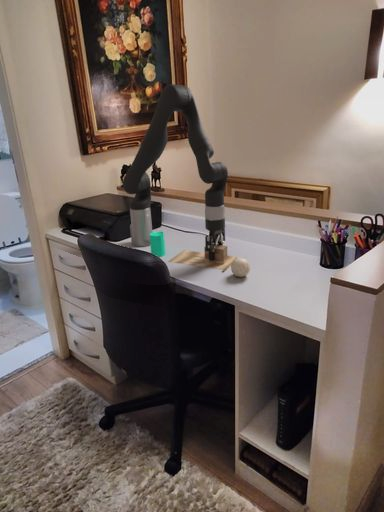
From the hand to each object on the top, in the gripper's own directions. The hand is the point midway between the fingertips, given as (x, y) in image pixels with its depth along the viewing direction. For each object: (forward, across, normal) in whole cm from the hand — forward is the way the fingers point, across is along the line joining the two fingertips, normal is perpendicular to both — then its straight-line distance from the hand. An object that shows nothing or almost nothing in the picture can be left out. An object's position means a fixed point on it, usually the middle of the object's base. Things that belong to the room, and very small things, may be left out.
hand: (216, 256), depth 150 cm
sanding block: (+2, 0, 0) cm, 2 cm away
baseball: (+3, +8, +13) cm, 16 cm away
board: (+3, 0, -6) cm, 7 cm away
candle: (+3, +1, -26) cm, 26 cm away
